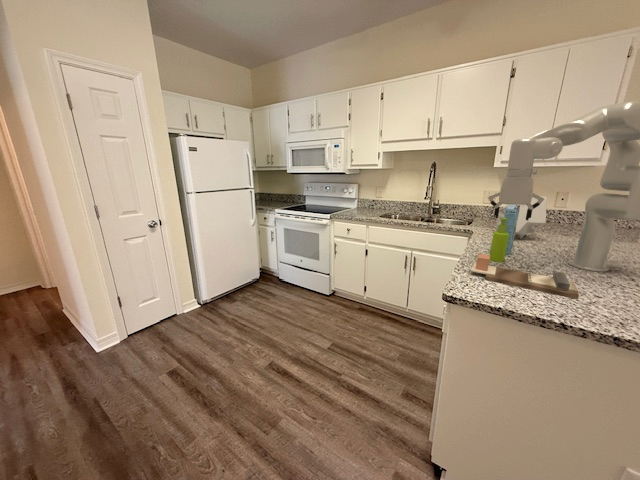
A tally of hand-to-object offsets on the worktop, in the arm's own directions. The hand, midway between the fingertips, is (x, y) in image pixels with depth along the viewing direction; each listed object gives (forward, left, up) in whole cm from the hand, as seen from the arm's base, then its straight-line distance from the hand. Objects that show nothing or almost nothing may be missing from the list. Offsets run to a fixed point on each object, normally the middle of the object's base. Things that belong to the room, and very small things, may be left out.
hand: (511, 218), depth 103 cm
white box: (-4, -73, -23) cm, 77 cm away
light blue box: (0, -37, -23) cm, 43 cm away
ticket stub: (+6, +7, -21) cm, 23 cm away
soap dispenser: (+3, -16, -23) cm, 28 cm away
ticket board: (-8, +7, -22) cm, 25 cm away
